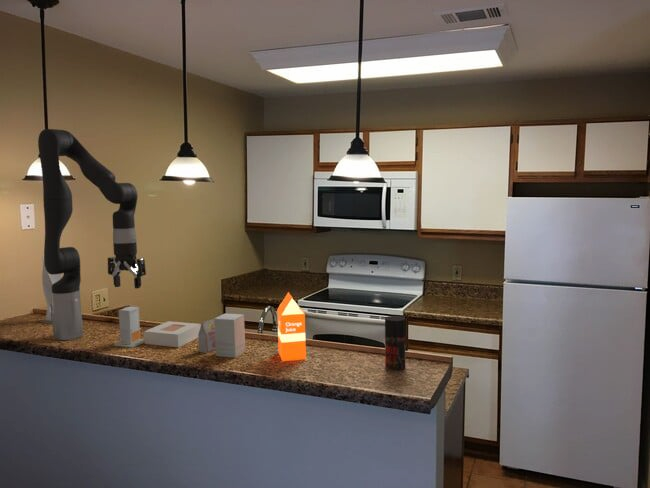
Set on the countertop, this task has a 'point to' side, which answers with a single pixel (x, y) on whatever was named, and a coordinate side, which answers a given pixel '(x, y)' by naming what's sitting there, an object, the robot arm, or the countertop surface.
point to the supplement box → (229, 335)
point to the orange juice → (291, 330)
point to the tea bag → (207, 337)
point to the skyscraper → (49, 290)
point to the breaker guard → (172, 334)
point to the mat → (131, 344)
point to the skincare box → (129, 325)
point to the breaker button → (173, 328)
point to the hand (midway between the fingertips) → (127, 287)
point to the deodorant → (395, 343)
